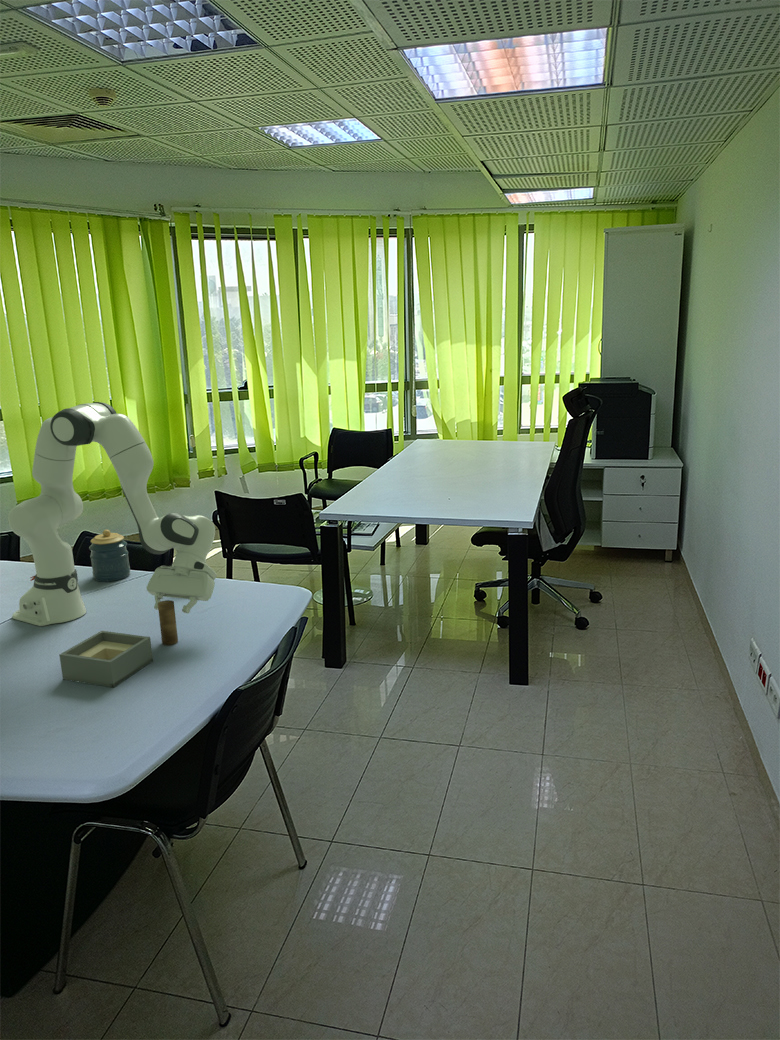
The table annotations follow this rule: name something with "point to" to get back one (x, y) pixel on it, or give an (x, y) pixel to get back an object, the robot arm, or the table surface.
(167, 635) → the peg
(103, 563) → the canister
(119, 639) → the bore box
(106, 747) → the table surface
